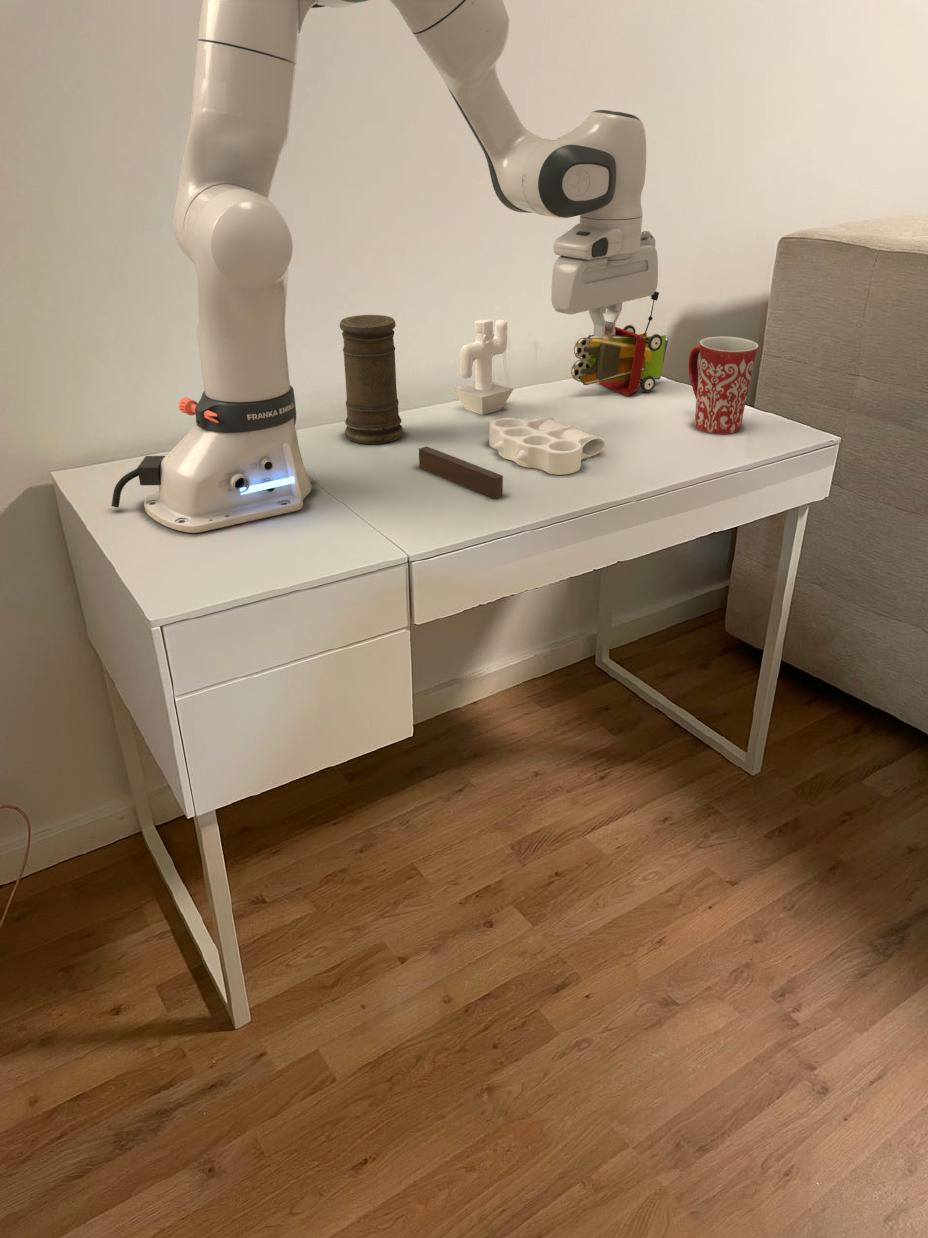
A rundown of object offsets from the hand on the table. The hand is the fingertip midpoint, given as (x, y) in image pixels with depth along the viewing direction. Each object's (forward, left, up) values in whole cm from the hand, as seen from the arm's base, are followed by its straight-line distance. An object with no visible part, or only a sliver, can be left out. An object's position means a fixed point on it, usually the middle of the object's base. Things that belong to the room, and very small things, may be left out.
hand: (604, 334), depth 146 cm
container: (-26, +24, -16) cm, 39 cm away
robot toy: (+22, +14, -16) cm, 30 cm away
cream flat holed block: (-13, 0, -16) cm, 20 cm away
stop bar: (-29, 0, -16) cm, 33 cm away
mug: (+18, -9, -16) cm, 26 cm away
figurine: (-4, +22, -16) cm, 28 cm away
